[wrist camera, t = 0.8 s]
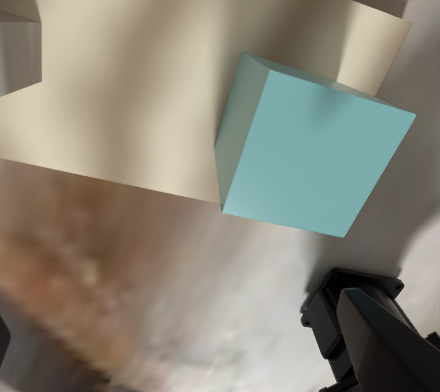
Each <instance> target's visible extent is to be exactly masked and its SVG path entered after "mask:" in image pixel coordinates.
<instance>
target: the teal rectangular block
mask: <svg viewBox="0 0 440 392" xmlns="http://www.w3.org/2000/svg"><path fill="white" fill-rule="evenodd" d="M416 116H417V114H414V113H412V112H409V111H407V110H404V109H402V108H400V107H397V106H395V105H392V104H390V103H388V102H385V101H383V100H380V99H378V98H376V97H373V96H371V95H368V94H366V93H364V92H361V91H359V90H356V89H354V88H352V87H349V86H347V85H344V84H342V83H340V82H337V81H334V80H331V79H328V78H325V77H321V76H318V75H315V74H312V73H309V72H305V71H302V70H299V69H296V68H293V67H289V66H286V65H283V64H280V63H277V62H273V61H270V60H267V59H264V58H261V57H257V56H254V55H251V54H248V53H245V52H242V53H241V57H240V60H239V64H238V67H237V71H236V74H235V78H234V81H233V85H232V88H231V92H230V95H229V99H228V102H227V106H226V109H225V113H224V116H223V120H222V123H221V127H220V130H219V134H218V137H217V141H216V144H215V148H214V154H215V162H216V170H217V178H218V186H219V194H220V202H221V210H222V213H224V214H229V215H234V216H239V217H244V218H249V219H254V220H259V221H263V222H268V223H273V224H278V225H283V226H288V227H293V228H298V229H303V230H308V231H313V232H318V233H323V234H327V235H332V236H337V237H342V238H344V237H345V235H346V233H347V231H348V230H349V228H350V226H351V225H352V223H353V221H354V220H355V218H356V216H357V215H358V213H359V211H360V210H361V208H362V206H363V205H364V203H365V201H366V200H367V198H368V196H369V195H370V193H371V191H372V190H373V188H374V186H375V185H376V183H377V181H378V180H379V178H380V176H381V174H382V173H383V171H384V169H385V168H386V166H387V164H388V163H389V161H390V159H391V158H392V156H393V154H394V153H395V151H396V149H397V148H398V146H399V144H400V143H401V141H402V139H403V138H404V136H405V134H406V133H407V131H408V129H409V128H410V126H411V124H412V123H413V121H414V119H415V117H416Z"/></svg>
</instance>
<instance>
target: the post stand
mask: <svg viewBox="0 0 440 392" xmlns="http://www.w3.org/2000/svg"><path fill="white" fill-rule="evenodd" d="M412 24H413V23H411V22H409V21H406V20H403V19H401V18H398V17H395V16H393V15H390V14H387V13H385V12H382V11H379V10H377V9H374V8H371V7H369V6H366V5H363V4H361V3H358V2H355V1H353V0H0V158H3V159H8V160H13V161H18V162H22V163H27V164H32V165H37V166H41V167H46V168H51V169H56V170H61V171H65V172H70V173H75V174H80V175H85V176H89V177H94V178H99V179H104V180H108V181H113V182H118V183H123V184H128V185H132V186H137V187H142V188H147V189H151V190H156V191H161V192H166V193H171V194H175V195H180V196H185V197H190V198H195V199H199V200H204V201H209V202H214V203H218V204H221V202H220V194H219V186H218V178H217V170H216V162H215V154H214V148H215V144H216V141H217V137H218V134H219V130H220V127H221V123H222V120H223V116H224V113H225V109H226V106H227V102H228V99H229V95H230V92H231V88H232V85H233V81H234V78H235V74H236V71H237V67H238V64H239V60H240V57H241V53H242V52H245V53H248V54H251V55H254V56H257V57H261V58H264V59H267V60H270V61H273V62H277V63H280V64H283V65H286V66H289V67H293V68H296V69H299V70H302V71H305V72H309V73H312V74H315V75H318V76H321V77H325V78H328V79H331V80H334V81H337V82H340V83H342V84H344V85H347V86H349V87H352V88H354V89H356V90H359V91H361V92H364V93H366V94H368V95H371V96H373V97H375V96H376V94H377V92H378V90H379V88H380V86H381V84H382V82H383V80H384V78H385V77H386V75H387V73H388V71H389V69H390V67H391V65H392V63H393V61H394V59H395V57H396V55H397V53H398V51H399V49H400V47H401V45H402V43H403V42H404V40H405V38H406V36H407V34H408V32H409V30H410V28H411V26H412Z"/></svg>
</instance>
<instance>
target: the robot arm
mask: <svg viewBox="0 0 440 392" xmlns="http://www.w3.org/2000/svg"><path fill="white" fill-rule="evenodd" d="M336 274H337V275H336ZM403 288H404V284H403V283H402V281H401V280H399V279H395V278H389V277H384V276H378V275H373V274H367V273H362V272H356V271H351V270H345V269H340V268H334V269H332V270H330V272H329V273H328V275H327V276H326V278H325V280H324V281H323V283H322V285H321V286H320V288H319V290H318V291H317V293H316V294H315V296H314V298H313V299H312V301H311V303H310V304H309V306H308V308H307V309H306V311H305V313H304V314H303V316H302V317H301V323H302V325H303V326H304V327H310V328H312V330H313V333H314V336H315V338H316V341H317V344H318V346H319V349H320V352H321V354H322V356H323V358H324V359H327V360H328V361H329V364H330V366H331V369H332V371H333V374H334V377H335V379H336V382H337V383H336V384H334V385H332V386H330V387H328V388H327V387H324V388H322V389H320V390H319V392H440V336H439V335H438V334H437V333H436V331H434V332H433V333H431V334H429V335H427V336H428V337H427V338H425V339H424V338H423V337H422V336H420V334H419V333H418V331H417V330H416V329H415V327H414V326H413V324H412V323H411V322H410V320H409V319H408V317H407V316H406V314H405V313H404V312H403V310H402V309H401V307H400V306H399V305H398V303H397V302H396V300H395V298H396V297H397V296H398V294H399V293H400V292H401V291H402V289H403ZM10 340H11V333H10V331H9V329H8V327H7V326H6V324H5V322H4V320H3V319H2V317H1V315H0V368H1V365H2V362H3V360H4V357H5V354H6V352H7V349H8V346H9V344H10Z"/></svg>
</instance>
